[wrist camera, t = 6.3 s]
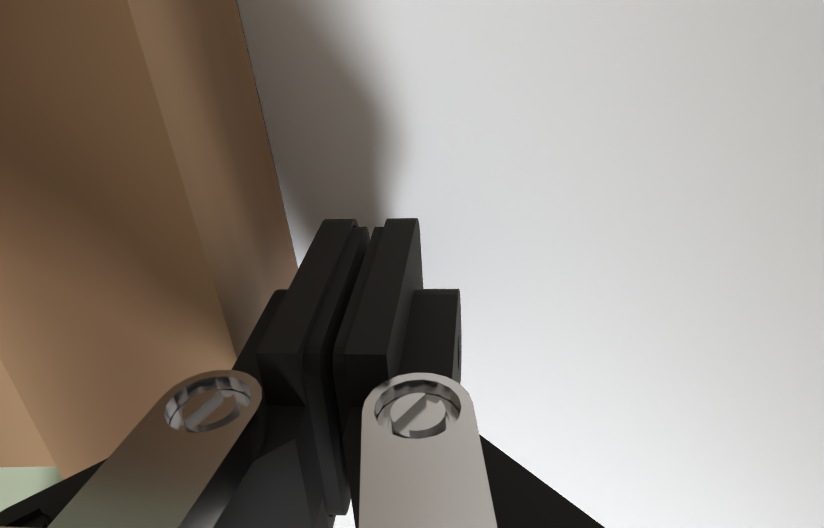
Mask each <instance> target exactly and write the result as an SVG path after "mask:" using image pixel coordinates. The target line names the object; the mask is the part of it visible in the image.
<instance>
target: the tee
mask: <svg viewBox="0 0 824 528" xmlns="http://www.w3.org/2000/svg"><path fill="white" fill-rule="evenodd" d="M297 271H298V266H297V262H296V257H295V253H294V249H293V245H292V240H291V236H290V232H289V227H288V223H287V219H286V214H285V210H284V206H283V201H282V197H281V193H280V188H279V184H278V180H277V175H276V171H275V167H274V163H273V158H272V154H271V150H270V145H269V141H268V137H267V132H266V128H265V124H264V119H263V115H262V111H261V106H260V102H259V98H258V93H257V89H256V85H255V81H254V76H253V72H252V68H251V63H250V59H249V55H248V50H247V46H246V42H245V37H244V33H243V29H242V24H241V20H240V16H239V11H238V7H237V3H236V0H0V467H57V468H58V470H59V472H60V474H61V476H62V478H63V480H64V479H66V478H68V477H71V476H73V475H75V474H77V473H79V472H81V471H83V470H85V469H87V468H89V467H91V466H93V465H95V464H97V463H99V462H101V461H103V460H105V459H107V458H108V457H109V456H110V455H111V454H112V453H113V452H114V451H115V449H116V448H117V447H118V446H119V445H120V444H121V443H122V441H123V440H124V439H125V438H126V437H127V436H128V435H129V433H130V432H131V431H132V430H133V429H134V428H135V427H136V425H137V424H138V423H139V422H140V421H141V420H142V419H143V417H144V416H145V415H146V414H147V413H148V412H149V411H150V409H151V408H152V407H153V406H154V405H155V404H156V403H157V401H158V400H159V399H160V398H161V397H162V396H163V395H164V394H165V393H166V392H167V391H169V390H170V389H171V388H172V387H173V386H175V385H177V384H178V383H180V382H182V381H183V380H185V379H187V378H190V377H192V376H195V375H198V374H200V373H204V372H209V371H215V370H232V368H233V366H234V364H235V362H236V360H237V359H238V357H239V355H240V353H241V351H242V349H243V348H244V346H245V344H246V342H247V340H248V338H249V336H250V335H251V333H252V331H253V329H254V327H255V325H256V324H257V322H258V320H259V318H260V316H261V314H262V313H263V311H264V309H265V307H266V305H267V303H268V302H269V300H270V298H271V296H272V294H273V293H274V292H275V291H276V290H278V289H288V288H289V286H290V284H291V283H292V281H293V279H294V277H295V275H296V273H297ZM335 517H336V516H335ZM334 521H335V520H334ZM333 525H334V524H333Z"/></svg>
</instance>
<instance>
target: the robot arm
mask: <svg viewBox="0 0 824 528" xmlns="http://www.w3.org/2000/svg"><path fill="white" fill-rule="evenodd" d="M460 381H461V306H460V291H459V289H423V277H422V260H421V244H420V229H419V221H418V218H401V219H386V222H385V225H384V227H375V228H374V231H373V233H372V236H371V239H370V238H369V232H368V228H367V227H358V224H357V221H356V220H355V219H324V221H323V222H322V224H321V226H320V228H319V230H318V232H317V234H316V236H315V238H314V240H313V242H312V243H311V245H310V247H309V249H308V251H307V253H306V255H305V257H304V259H303V261H302V263H301V265H300V267H299V269H298V271H297V273H296V275H295V277H294V279H293V281H292V283H291V284H290V286H289V288H288V289H278V290H276V291H275V292H274V293H273V294H272V296H271V298H270V300H269V302H268V303H267V305H266V307H265V309H264V311H263V313H262V314H261V316H260V318H259V320H258V322H257V324H256V325H255V327H254V329H253V331H252V333H251V335H250V336H249V338H248V340H247V342H246V344H245V346H244V348H243V349H242V351H241V353H240V355H239V357H238V359H237V360H236V362H235V364H234V366H233V368H232V370H215V371H209V372H204V373H200V374H198V375H195V376H192V377H190V378H187V379H185V380H183V381H182V382H180V383H178V384H177V385H175V386H173V387H172V388H171V389H170V390H169V391H167V392H166V393H165V394H164V395H163V396H162V397H161V398H160V399H159V400H158V401H157V403H156V404H155V405H154V406H153V407H152V408H151V409H150V411H149V412H148V413H147V414H146V415H145V416H144V417H143V419H142V420H141V421H140V422H139V423H138V424H137V425H136V427H135V428H134V429H133V430H132V431H131V432H130V433H129V435H128V436H127V437H126V438H125V439H124V440H123V441H122V443H121V444H120V445H119V446H118V447H117V448H116V449H115V451H114V452H113V453H112V454H111V455H110V456H109V457H108V458H107V459H105V460H103V461H101V462H99V463H97V464H95V465H93V466H91V467H89V468H87V469H85V470H83V471H81V472H79V473H77V474H75V475H73V476H71V477H68V478H66V479H64V480H62V481H60V482H58V483H56V484H54V485H52V486H50V487H48V488H46V489H44V490H42V491H40V492H38V493H36V494H34V495H32V496H30V497H28V498H26V499H24V500H22V501H20V502H18V503H16V504H14V505H12V506H10V507H8V508H6V509H4V510H3V511H1V512H0V528H333V524H334V520H335V516H336V515H346V514H347V512H348V508H349V504H350V500H352V507H353V513H354V520H355V527H356V528H605V527H603V526H602V525H601V524H599V523H598V522H596V521H595V520H594V519H592V518H591V517H590V516H588V515H587V514H586V513H584V512H583V511H582V510H580V509H579V508H578V507H576V506H575V505H574V504H572V503H571V502H570V501H568V500H567V499H566V498H564V497H563V496H562V495H560V494H559V493H557V492H556V491H555V490H553V489H552V488H551V487H549V486H548V485H547V484H545V483H544V482H543V481H541V480H540V479H539V478H537V477H536V476H535V475H533V474H532V473H531V472H529V471H528V470H527V469H525V468H524V467H522V466H521V465H520V464H518V463H517V462H516V461H514V460H513V459H512V458H510V457H509V456H508V455H506V454H505V453H504V452H502V451H501V450H500V449H498V448H497V447H496V446H494V445H493V444H492V443H490V442H489V441H488V440H486V439H485V438H483V437H482V436H481V435H479V432H478V426H477V421H476V416H475V411H474V406H473V402H472V400H471V398H470V395H469V393H468V392H467V391H466V390H465V389H464V388H463V387H462V386H461V385H460Z"/></svg>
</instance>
